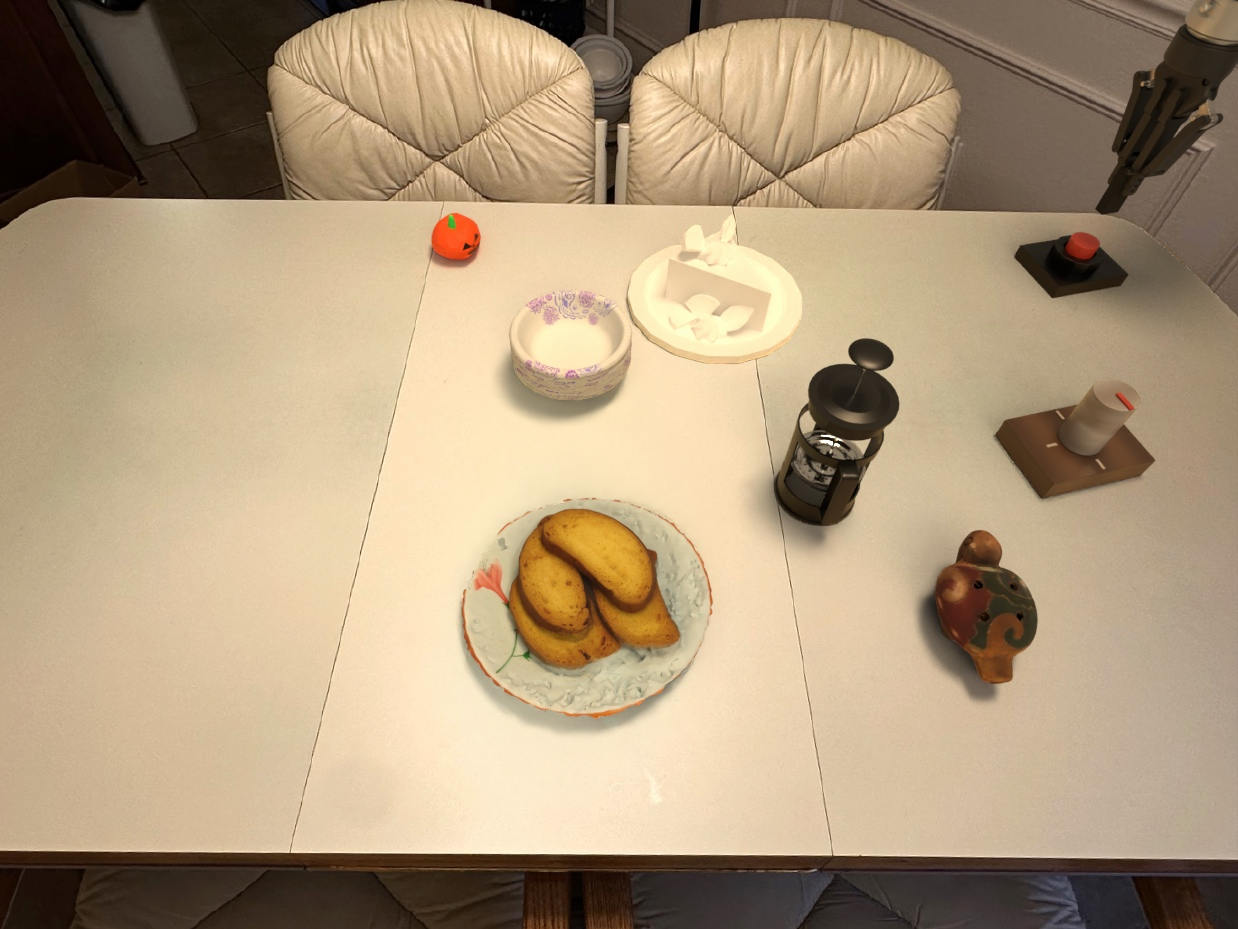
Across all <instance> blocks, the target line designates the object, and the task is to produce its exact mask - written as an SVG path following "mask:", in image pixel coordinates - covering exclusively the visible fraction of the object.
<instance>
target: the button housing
mask: <svg viewBox="0 0 1238 929" xmlns="http://www.w3.org/2000/svg"><path fill="white" fill-rule="evenodd" d="M1072 235H1073V234H1069V235H1062V236H1060V237H1059V238H1055V239H1050V240H1044V241H1043V240H1042V241H1038V242H1031V243H1026V244H1025V243H1024V244H1020V245H1019V247H1018V248H1017V250H1016V252H1015V254H1014V256H1013V258H1014V259H1015V260H1016V261H1017V262H1018V263H1019V264H1020V265H1021V266H1022V267H1023V269H1024V270H1025V271H1027V273H1028V274H1029V275H1030V276H1031V277H1032V278H1033V280H1035V281H1036V283H1037V284H1038V285H1039V286H1040V287H1041V288H1042V289H1043V291H1045V293H1046V294H1048V296H1049V297H1050V298H1051V299H1055V298H1062V297H1067V296H1072V295H1079V294H1084V293H1089V292H1095V291H1100V290H1105V289H1110V288H1111V289H1112V288H1116V287H1117V288H1118V287H1121V286H1122V285H1123V284H1124V282H1125V281H1126V279H1127V278H1128V277H1129V275H1130V274H1129V273H1128V272H1127V271H1126V270H1125V269H1124V268H1123V267H1122V266H1121V265H1119V264H1118V263H1117V261H1116V260H1114V259H1113V258H1112V257H1111V256H1110V255H1109V254H1108V253H1107V252H1106V251H1105V250H1104V249H1103V248H1102V246H1101V245H1100V246H1099V247H1098V249H1097V251H1096V252H1095V254H1094V255H1093V257H1092V258H1091V259H1087V260H1085V259H1079V258H1076V257H1074V256H1072V255H1070V254H1068V253H1067V252H1066V251H1065V246H1066V244H1067V242H1068V241H1069V239H1070V238H1071V236H1072Z"/></svg>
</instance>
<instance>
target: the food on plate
mask: <svg viewBox="0 0 1238 929" xmlns="http://www.w3.org/2000/svg"><path fill="white" fill-rule="evenodd" d="M500 538H501V539H504V546H506V547H507V548H506V549H501V548H500V546H499V543H498V542H499V540H500ZM481 555H482V557H481V560H480V561H479V563H478V565H477V567H476V569H475V570H472V579H471V581H470V582H469V586H468V589H466V588H465V589H464V590H463V591H462V596H463V597H462V604H461V605H462V606H461V616H462V619H463V621H462V628H463V629H462V630H463V638H464V639H465V643H466V644H467V645H466V646H467V648H466V649H467V651H469V653H470V655H471V657H472V659H473V660H474V661H475V662H476V663H477V665H478V666H479V667H480V669H481V671H482V672H483V673H484V675H485V676H486V677H487V678H489V679H491V681H492V682H493V684H495V685H496V686H497V687H500V688H502V689H503V692H504V693H505V694H507V695H509V696H511V697H515V698H516V699H518V700H519V701H521V702H523V703H524V704H526V705H530V706H533V707H534V708H536V709H538V710H543V711H544V712H545V713H548V712H549V711H552V712H555V713H558V714H563V715H565V716H566V717H573V718H575V717H576V718H577V717H582V716H587V717H591V718H593V719H595V720H598V719H599V718H600V717H601V718H602V717H609V716H613V715H616V714H619V713H622V712H623V711H625V710H626V709H628V708H630V707H632V706H637V707H638V706H640V705H641V704H642V703H643V702H645V701H646V699H647V698H650V697H653V696H655V695H658V694H661V693H663V691H664V688H665V687H666V685H667V684H669V683H670V682H672V681H673V680H675V679H676V678H678V677H679V676H680V675H681V673H682V671H683V670H684V669H685V668H686V667H688V666H690V664H691V663H692V662H693V659H694V658H695V657H696V655H697V652H698V650H699V649H700V647H702V646H701V645H702V643H703V639H704V637H705V633H706V630H707V627H708V626H709V622H710V616H711V615H713V609H712V606H713V605H714V604H713V603H714V600H713V595H712V590H713V589H712V587H711V582H710V579H709V575H708V572H707V570H706V568H705V563H704V561H703V559H702V557H701V555H700V553H699V552H698V551H697V550H696V547H695V545H694V544H693V542H692V541H691V539H689V538H688V537H687V536H686V534H685V533H684V532H683V533H682V531H680V530H679V528H678V527H677V526H676V524H675V523H674V522H671V521H669V520H668V519H667V518H664V517H663V516H661V515H659V514H656V513H654V512H652V511H651V510H649V509H647V508H642V507H641V506H638V505H635V504H632V503H627V502H626V501H621V500H619V499H614V500H613V499H612V500H605V499H600V498H596V497H592V498H591V499H590V498H588V497H585V498H578V499H571V498H566V499H563V500H562V502H559V503H555V504H548V505H545V506H544V507H539V508H537V509H536V510H530V511H527V512H525V513H524V514H523V515H521V516H519V517H517V518H515V519H514V520H513V521H510V522H508V523H506V524H505V525H504V526H503V527H502V528H501V529H500V530H499V532H498V533H497V535H496V537H495V538H494V539H493V540H492V541H491V542H490V543H489V547H488V548H487V549H485V551H484V552H483V553H482V554H481Z"/></svg>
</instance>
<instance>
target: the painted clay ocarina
mask: <svg viewBox="0 0 1238 929" xmlns="http://www.w3.org/2000/svg"><path fill="white" fill-rule="evenodd" d="M1002 548H1003V547H1002V545H1001V543H1000V542H999V540H998V539H997V538H996V536H994V535H993V534H992V533H991V532H990V531H987V530H984V529H977V530H973V531H971V532H970V533H968V534H967V535H966V536H965V538H964V539H963V540H962V541H961V544H960V545H959V548H958V551H957V555H956V559H955V563H953V564H950V565H947V566H946V567H944V568H943V569H942V570H941V571H940V573H939V575H938V576H937V578H936V583H935V589H934V590H935V592H934V596H935V598H934V599H935V605H936V610H937V615H938V618H939V621H940V629H941V633H942V634H943V635H944V638H947V639H948V640H949V641H953V642H955V643H956V644H957V645H958V646H959V647H961V649H963V650H964V651H966V652H967V653H968V654H969V655H970V657H971V658H972V660H973V664H974V666H975V669H976V672H977V675H978V677H979V679H980V680H981V681H982V682H984V683H987V684H990V685H1001V684H1006V683H1009V682H1011V681H1013V678H1014V668H1013V666H1014V664H1013V661H1014V658H1015V657H1016V656H1017V655H1018V654H1021V653H1023V652H1024V651H1026V650H1027V649H1028V648H1029V647H1030V645H1031V644H1032V643H1033V641H1034V640H1035V637H1036V634H1037V630H1038V624H1039V623H1038V622H1039V620H1038V609H1037V606H1036V602H1035V599H1034V598H1033V595H1032V592H1031V590H1030V589H1029V587H1028V586H1027V584H1026V583H1025V581H1024V580H1023V579H1022V578H1021V577H1020V576H1019V575H1018V574H1017V573H1015V572H1014V571H1012V570H1010V569H1007V568H1005V567H1002V566H1000V562H1001V560H1002V557H1003V549H1002Z"/></svg>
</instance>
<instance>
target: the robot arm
mask: <svg viewBox="0 0 1238 929" xmlns="http://www.w3.org/2000/svg"><path fill="white" fill-rule="evenodd" d="M1184 22H1185V23H1184V24H1183V25H1181V26H1179V27H1178V29H1177V31H1176V32H1175V34H1174V36H1173V38H1172V39H1171V41H1170V43H1169V44H1168V46H1167V48H1166V50H1165V52H1164V54H1163V61H1161V62H1160V63H1159V64H1158V65H1157V66H1156V68H1151V69H1150V68H1149V69H1143V70H1137V71H1135V72H1134V74H1133V76H1132V88H1131V93H1130V96H1129V98H1128V101H1127V104H1126V107H1125V108H1124V112H1123V115H1122V118H1121V120H1120V123H1119V125H1118V129H1117V131H1116V135H1115V137H1114V140H1113V142H1112V145H1111V152H1112V153H1115V154H1116V155H1117V163H1116V165H1115V166H1114V169H1112V172H1111V174H1110V175H1109V177H1108V178H1107V181H1106V182H1107V183H1106V184H1108V186H1107V188H1106V190H1105V191H1104V193H1103V195H1102V196H1101V198H1100V200H1099V201H1098V203H1097V205H1096V206H1095V208H1094V210H1095V211H1096V212H1098V213H1099V214H1100V215H1101V216H1102V215H1110V214H1116V213H1119V211H1120V210H1121V209H1122V207H1123V205H1124V204H1125V202H1126V201H1127V199H1128V197H1130V196H1131V197H1132V196H1133V195H1135V194H1136V193H1137V192H1138V189H1139V188H1140V186H1141V185H1142V183H1143V181H1144V180H1145V179H1146V178H1152V177H1159V176H1163V175H1165V174H1166V173H1167V172H1168V171H1169V170H1170V169H1171V168H1172V166H1174V164H1175V163H1177V162H1178V160H1180V158H1182V156H1183V155H1184V154H1185V153H1186V152H1188V150H1190V148H1191V147H1192V146H1193V145H1194V144H1196V142H1197V141H1198V140H1199V139H1200V138H1201V137H1202V136H1203V135H1204V134H1205V133H1206V132H1207V131H1209V130H1210V129H1212V128H1214V127H1217V125H1220V124H1221V123H1222V122H1223V120H1224V114H1223V113H1221V112H1216V109H1215V105H1214V101H1215V99H1216V98H1217V97H1218V93H1219V90H1220V87H1221V84H1222V82H1223V81H1225V80H1226V78H1227V77H1229V76H1230V74H1231V73H1232V72H1234V70H1235V68H1236V66H1237V65H1238V0H1194V2H1193V3H1192V5H1191V7H1190V9H1189V10H1188V12H1187V13H1186V16H1185V17H1184ZM1195 112H1196V113H1195ZM1193 113H1195V114H1194V115H1193V116H1192V114H1193ZM1189 118H1190V119H1189ZM1188 120H1190V122H1189V123H1187V124H1186V125H1185V126H1183V127H1182V128H1181V126H1182V125H1183V124H1185V123H1186V122H1188ZM1180 128H1181V129H1180Z"/></svg>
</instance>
